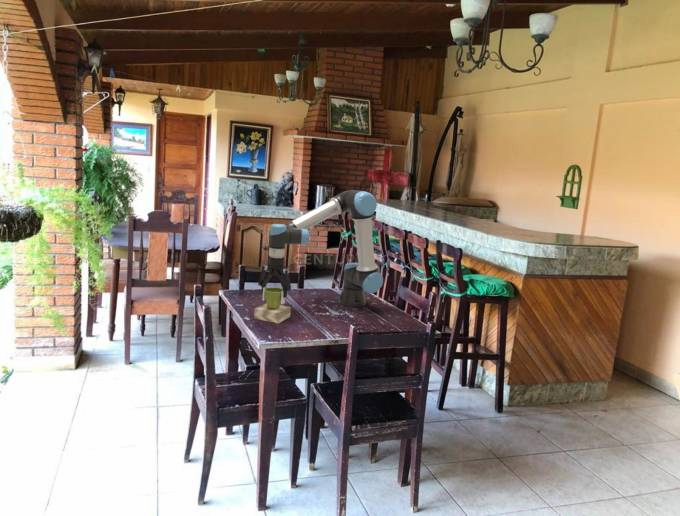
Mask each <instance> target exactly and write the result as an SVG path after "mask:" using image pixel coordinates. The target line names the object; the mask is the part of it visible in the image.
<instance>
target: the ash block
mask: <svg viewBox="0 0 680 516" xmlns="http://www.w3.org/2000/svg"><path fill="white" fill-rule="evenodd" d="M291 309H292V307H291V306H287V305H283V304H280V307H279V308H274V309H272V308H268V307H267V302H266V303H264V304H261V305H259V306H257V307H255V308H254V312H253V313H254V314H253V319H255V320H259V321H265V322H268V323H273V322H274V324H280V323H282V322H283V321H285V320H288V319H289V318H291V312H292V311H291Z"/></svg>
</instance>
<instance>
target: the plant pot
mask: <svg viewBox="0 0 680 516" xmlns="http://www.w3.org/2000/svg"><path fill="white" fill-rule="evenodd" d="M264 290H265V293H266V300H265V301H266V303H267V307H268V308H272V309H274V308H279V307H280V305H281V293H282V291H283V288H282V287H281V288H280V287H267V288H266V289H264Z"/></svg>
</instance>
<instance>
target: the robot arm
mask: <svg viewBox="0 0 680 516" xmlns="http://www.w3.org/2000/svg"><path fill="white" fill-rule="evenodd" d="M377 205H378V203H377V200H376V198H375V196H374V195H373V194H372V193H370V192H368V191H364V190H356V189H349V190H345V191H342V192H341V193H338V194H337V195H335V196H333V197H331V198H330V199H329V201H327V202H326V203H324V204H322V205H320V206H318V207H315V208H313V209H312V210H310V211H308V212H306V213H305V214H302V215H300V216H299V217H297V218H294V219H292V220H290V221H289V222H286V223H273V224H271V225H270V229H269V247H268V261H267V263H268V265H263V266H262V267H261V273H260V276H259V280H258V284H257V285H258V286H260V288H261V294H262V299H261V300H262V301H263V302H264V301H266V293H265V290H264V289H266V288H268V287H267V285H268V283H269V281H270V279H271V278H272V276H274V277H277V278H278V281H279V284H280V285H281V289H283V291H282V293H281V302H280V305H285V303H286V298H287V297H288V291H290V290H292V285H291V278H290V269H286V268H284V266H285V257H286V255H285V251H286V245H306V244H308V243H309V241H310V233H309V229H310V228H312V227H315V226H317V225H318V224H320V223H322V222H324V221H325V220H327V219H329V218H331V217H334V216H335V215H341V214H343V213H350V218H351V220H352V221H353V223H354V229H355V240H356V250H357V251H356V252H357V260H358V261H357V262H348V263H345V265H344V268H343V272H344V273H343V284H342V285H343V286H342V290H341V292H340V295H339V296H338V301H337V302H338V304H339V305H343V306H346V307H352V308H353V307H355V308H357V307H358V308H359V307H361V308H362V307H364V306H366V297H365V293H368V294H374V293H377V292H378V291H379V290H380V289H381V288H382V286H383V284H384V277H383V276H382V274H381V273H380V272H379V266H378V264H377V263H376V261H375V250H374V241H373V228H372V219H373V218H374V214H375V212H376V211H375V210H377ZM267 271H268V273H267ZM266 275H267V276H266Z"/></svg>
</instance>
